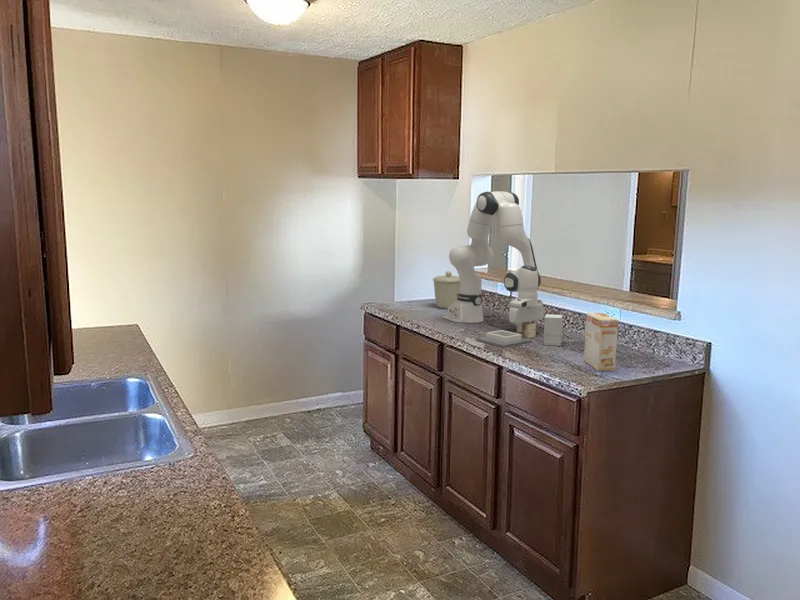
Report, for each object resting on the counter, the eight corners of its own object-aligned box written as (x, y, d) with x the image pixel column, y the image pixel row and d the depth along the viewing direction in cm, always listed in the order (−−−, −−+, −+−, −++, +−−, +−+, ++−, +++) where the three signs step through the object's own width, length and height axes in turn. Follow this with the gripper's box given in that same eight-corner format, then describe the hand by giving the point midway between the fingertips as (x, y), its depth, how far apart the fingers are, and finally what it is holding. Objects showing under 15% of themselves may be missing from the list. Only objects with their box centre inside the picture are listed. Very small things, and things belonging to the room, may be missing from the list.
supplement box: (561, 342, 293) (563, 314, 291) (560, 346, 286) (561, 317, 284) (545, 341, 295) (546, 313, 293) (542, 345, 288) (544, 316, 286)
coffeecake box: (615, 370, 247) (619, 319, 244) (597, 371, 246) (600, 319, 243) (600, 360, 262) (603, 312, 258) (583, 361, 261) (585, 312, 258)
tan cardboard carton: (516, 335, 307) (517, 322, 306) (524, 334, 310) (524, 321, 310) (528, 338, 302) (528, 325, 301) (535, 336, 305) (536, 324, 304)
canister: (429, 305, 388) (430, 269, 384) (460, 304, 390) (461, 269, 386) (434, 310, 370) (435, 273, 367) (466, 310, 372) (467, 273, 369)
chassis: (475, 340, 296) (476, 332, 295) (503, 335, 306) (504, 328, 306) (503, 347, 282) (503, 339, 282) (531, 342, 293) (532, 334, 293)
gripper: (537, 298, 312) (536, 327, 315) (507, 302, 300) (506, 332, 302) (547, 300, 307) (546, 329, 310) (517, 304, 295) (516, 334, 297)
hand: (526, 330), depth 306 cm, fingers open, 7 cm apart
